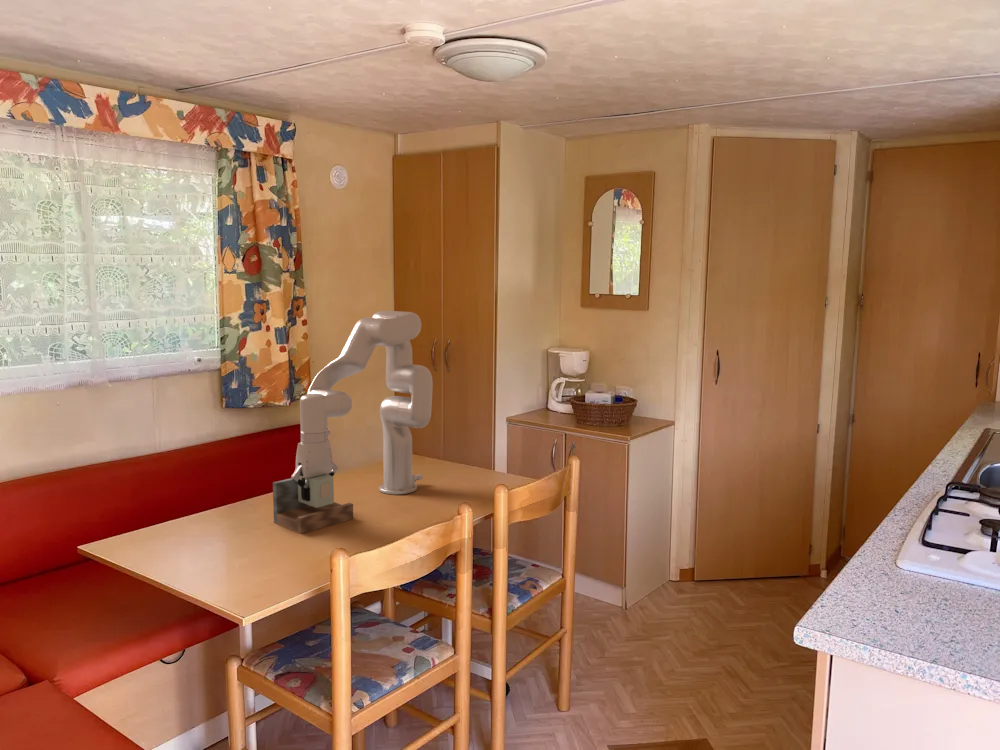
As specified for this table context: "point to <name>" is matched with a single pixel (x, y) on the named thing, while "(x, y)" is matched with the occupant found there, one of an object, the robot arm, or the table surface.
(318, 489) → the mini block
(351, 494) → the table surface
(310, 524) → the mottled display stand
